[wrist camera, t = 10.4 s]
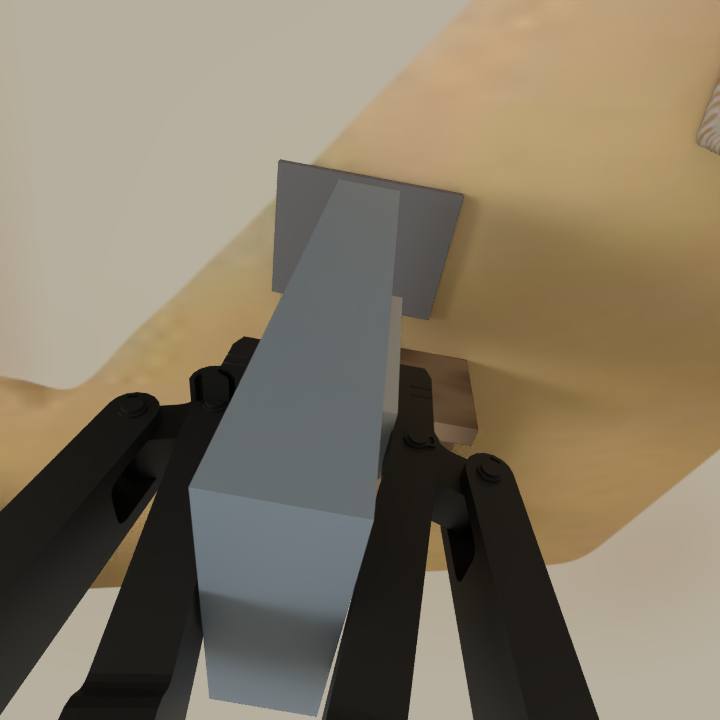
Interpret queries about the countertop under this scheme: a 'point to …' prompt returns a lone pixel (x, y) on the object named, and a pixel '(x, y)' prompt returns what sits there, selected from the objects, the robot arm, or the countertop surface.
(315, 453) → the blue rectangular block
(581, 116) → the countertop surface
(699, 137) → the decorative jar
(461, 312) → the countertop surface
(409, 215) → the mat
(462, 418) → the rack
